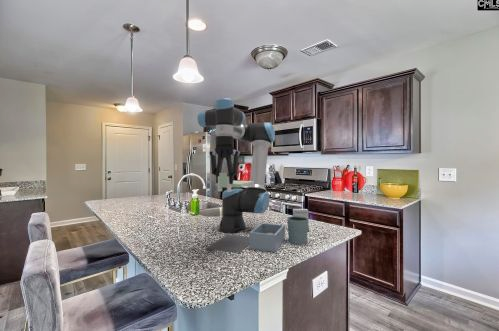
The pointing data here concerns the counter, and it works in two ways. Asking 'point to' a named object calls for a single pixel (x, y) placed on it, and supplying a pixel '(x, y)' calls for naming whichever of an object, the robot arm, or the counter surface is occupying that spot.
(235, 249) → the mat
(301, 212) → the ink box
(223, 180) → the lid
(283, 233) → the tub
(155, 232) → the counter surface
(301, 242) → the teal cup
